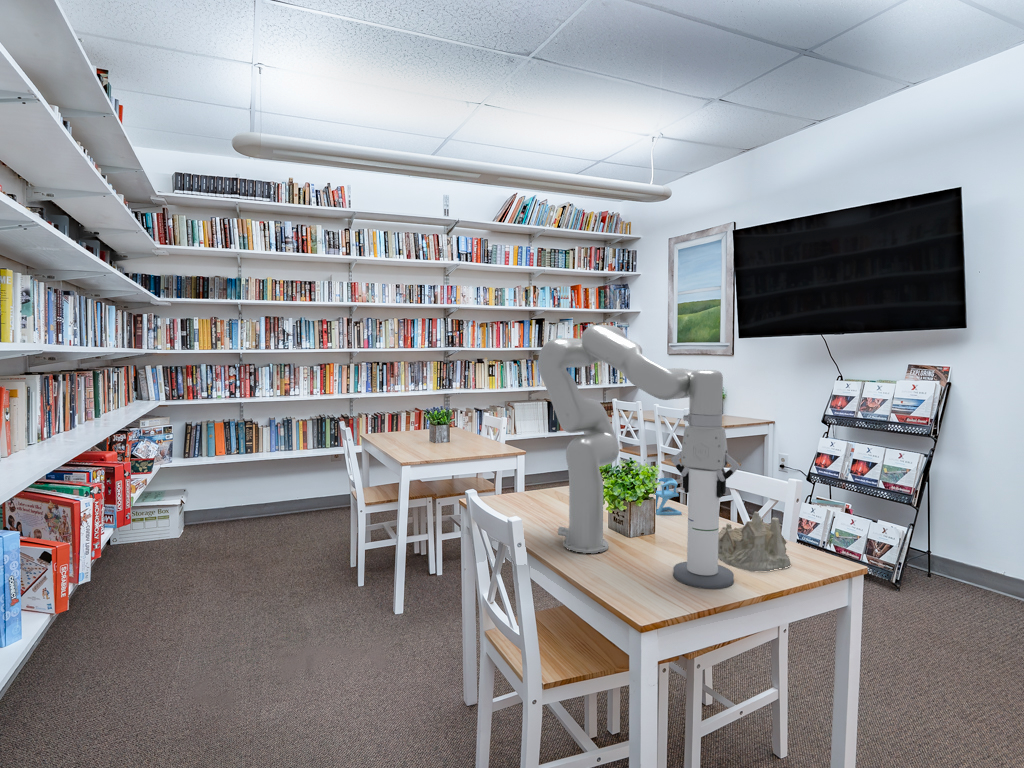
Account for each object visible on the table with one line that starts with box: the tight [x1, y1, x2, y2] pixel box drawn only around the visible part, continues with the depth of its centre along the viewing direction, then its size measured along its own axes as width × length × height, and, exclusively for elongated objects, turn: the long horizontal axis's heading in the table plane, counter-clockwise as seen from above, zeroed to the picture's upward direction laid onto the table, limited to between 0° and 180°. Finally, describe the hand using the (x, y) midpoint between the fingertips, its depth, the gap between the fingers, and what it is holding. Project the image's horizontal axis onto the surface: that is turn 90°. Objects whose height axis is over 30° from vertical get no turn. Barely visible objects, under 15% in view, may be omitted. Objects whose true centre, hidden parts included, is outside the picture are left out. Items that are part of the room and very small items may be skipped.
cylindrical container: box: [686, 468, 720, 575], centre depth 141 cm, size 7×7×25 cm
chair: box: [655, 477, 682, 516], centre depth 199 cm, size 8×8×12 cm
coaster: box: [672, 561, 735, 590], centre depth 141 cm, size 14×14×2 cm
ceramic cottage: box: [718, 511, 792, 572], centre depth 153 cm, size 16×16×15 cm
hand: (703, 493), depth 141 cm, fingers closed on cylindrical container, 7 cm apart
